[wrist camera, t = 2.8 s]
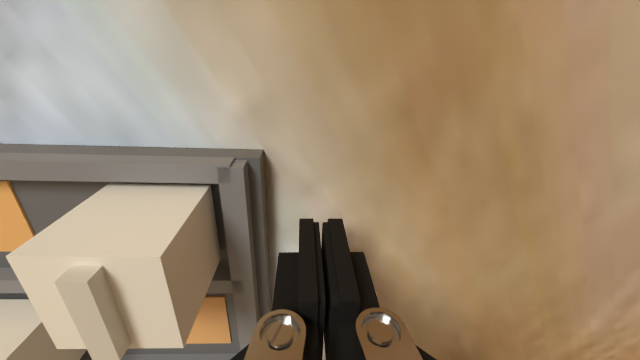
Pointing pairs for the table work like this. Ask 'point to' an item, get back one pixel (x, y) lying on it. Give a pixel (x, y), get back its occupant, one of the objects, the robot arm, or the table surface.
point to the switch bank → (152, 168)
